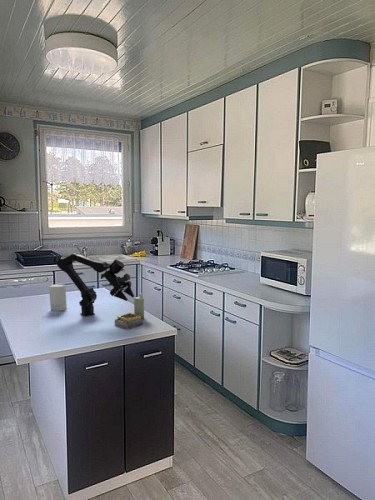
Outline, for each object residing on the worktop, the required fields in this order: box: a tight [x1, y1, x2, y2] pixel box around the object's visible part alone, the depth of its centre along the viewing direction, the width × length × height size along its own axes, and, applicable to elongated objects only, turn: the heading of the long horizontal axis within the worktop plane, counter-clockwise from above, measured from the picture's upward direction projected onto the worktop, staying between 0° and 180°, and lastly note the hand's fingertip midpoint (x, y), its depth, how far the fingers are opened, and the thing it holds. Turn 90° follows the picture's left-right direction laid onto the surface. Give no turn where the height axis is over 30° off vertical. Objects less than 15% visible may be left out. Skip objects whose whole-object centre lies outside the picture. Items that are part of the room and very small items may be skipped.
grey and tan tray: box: [114, 312, 144, 330], centre depth 213 cm, size 11×11×4 cm
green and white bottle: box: [133, 292, 145, 321], centre depth 223 cm, size 6×6×15 cm
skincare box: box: [48, 284, 68, 312], centre depth 243 cm, size 8×7×16 cm
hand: (130, 298), depth 224 cm, fingers open, 9 cm apart
